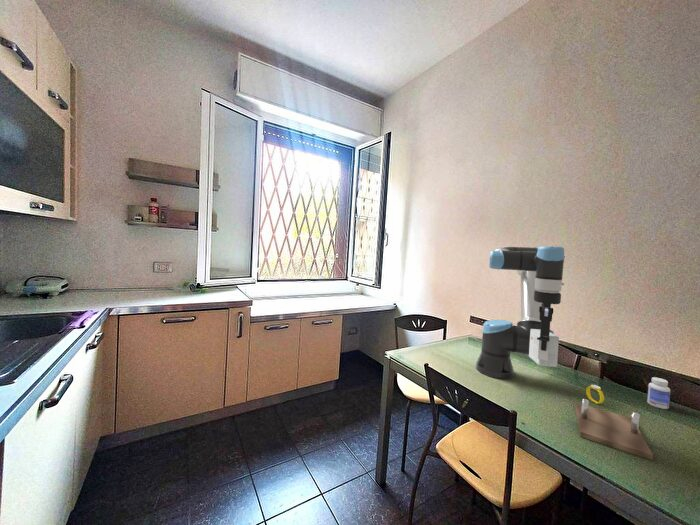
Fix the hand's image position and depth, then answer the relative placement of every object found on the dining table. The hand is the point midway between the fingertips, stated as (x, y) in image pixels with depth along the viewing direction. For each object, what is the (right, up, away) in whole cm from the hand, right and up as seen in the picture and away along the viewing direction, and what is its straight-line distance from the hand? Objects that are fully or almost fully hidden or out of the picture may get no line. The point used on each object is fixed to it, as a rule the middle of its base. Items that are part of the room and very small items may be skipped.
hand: (542, 354), depth 95 cm
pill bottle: (+47, -21, +6) cm, 51 cm away
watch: (+24, -20, +7) cm, 32 cm away
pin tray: (+14, -20, -9) cm, 26 cm away
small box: (0, -3, 0) cm, 3 cm away
